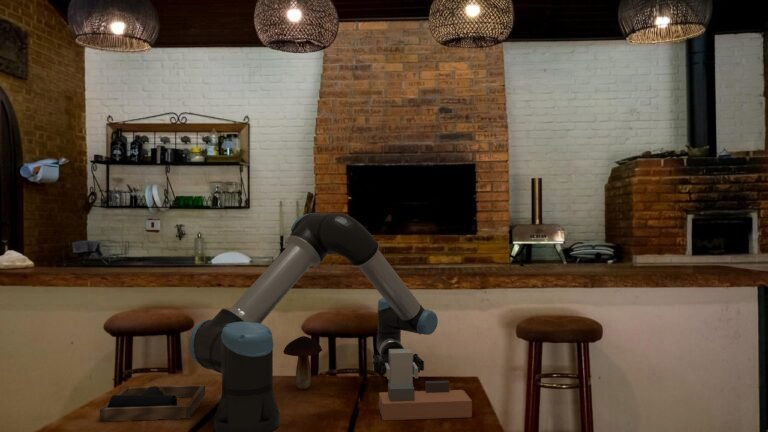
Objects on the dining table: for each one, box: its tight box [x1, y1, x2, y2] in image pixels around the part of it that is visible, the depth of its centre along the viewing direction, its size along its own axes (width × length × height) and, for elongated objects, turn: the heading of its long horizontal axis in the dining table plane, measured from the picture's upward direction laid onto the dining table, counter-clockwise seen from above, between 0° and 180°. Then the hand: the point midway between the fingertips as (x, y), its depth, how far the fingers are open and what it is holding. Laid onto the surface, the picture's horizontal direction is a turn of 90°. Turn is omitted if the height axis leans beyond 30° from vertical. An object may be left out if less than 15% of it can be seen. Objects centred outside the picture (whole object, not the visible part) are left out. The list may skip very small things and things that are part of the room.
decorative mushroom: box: [282, 335, 323, 390], centre depth 165 cm, size 11×11×15 cm
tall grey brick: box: [388, 348, 414, 386], centre depth 160 cm, size 6×5×12 cm
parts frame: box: [99, 384, 206, 423], centre depth 148 cm, size 21×18×3 cm
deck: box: [378, 380, 473, 421], centre depth 148 cm, size 22×16×7 cm
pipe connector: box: [108, 385, 178, 408], centre depth 146 cm, size 12×5×15 cm
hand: (402, 373), depth 155 cm, fingers open, 7 cm apart
